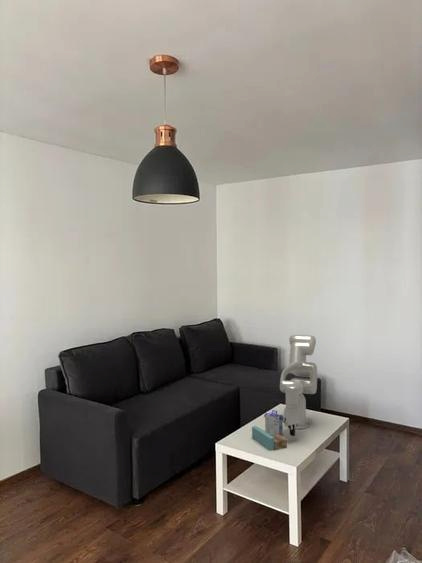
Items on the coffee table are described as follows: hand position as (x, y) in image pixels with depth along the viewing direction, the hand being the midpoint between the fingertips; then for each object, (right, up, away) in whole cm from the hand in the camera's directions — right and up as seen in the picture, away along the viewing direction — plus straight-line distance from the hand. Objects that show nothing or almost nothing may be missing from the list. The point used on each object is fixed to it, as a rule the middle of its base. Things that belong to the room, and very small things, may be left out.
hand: (292, 435), depth 256 cm
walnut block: (-10, -4, -6) cm, 13 cm away
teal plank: (-18, -4, -3) cm, 19 cm away
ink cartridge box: (-9, -4, +12) cm, 15 cm away
